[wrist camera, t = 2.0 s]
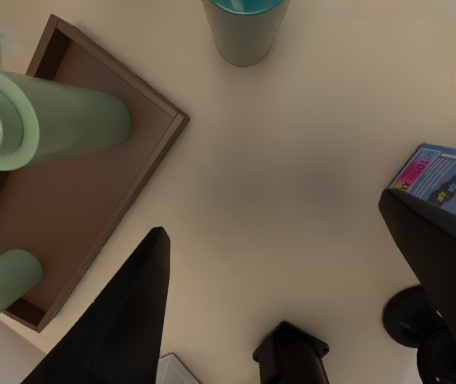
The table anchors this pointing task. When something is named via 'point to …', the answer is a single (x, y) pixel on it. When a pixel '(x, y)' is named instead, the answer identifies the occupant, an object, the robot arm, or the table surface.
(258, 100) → the table surface
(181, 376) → the small box
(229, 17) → the teal bottle
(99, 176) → the tray
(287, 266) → the table surface
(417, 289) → the webcam
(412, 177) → the ink cartridge box
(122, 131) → the sage bottle
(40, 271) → the sage bottle
